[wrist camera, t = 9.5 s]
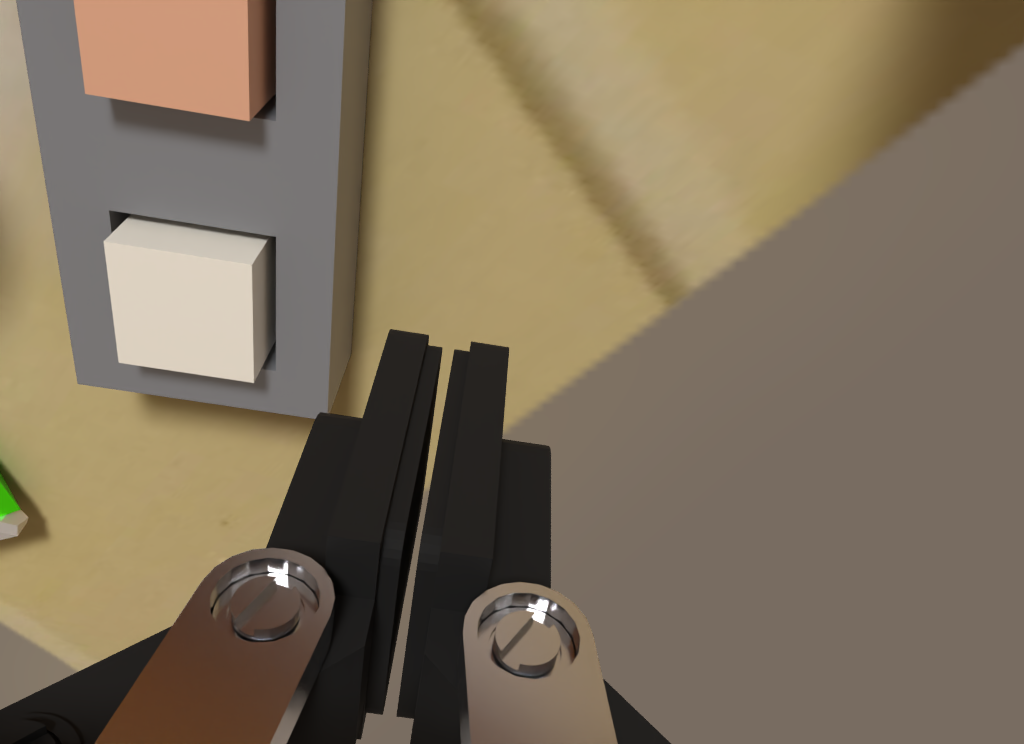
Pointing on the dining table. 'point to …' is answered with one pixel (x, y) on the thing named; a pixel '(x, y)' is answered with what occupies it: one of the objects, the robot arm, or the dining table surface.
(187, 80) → the terracotta key
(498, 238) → the dining table surface
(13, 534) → the green triangular piece
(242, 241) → the cream key
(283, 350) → the key panel
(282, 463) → the dining table surface
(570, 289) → the dining table surface
